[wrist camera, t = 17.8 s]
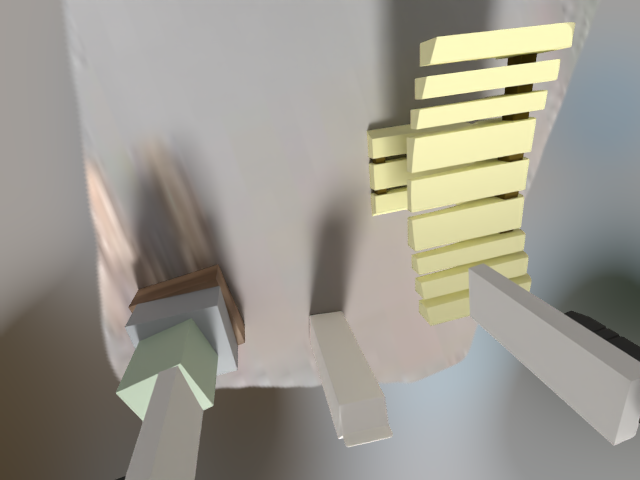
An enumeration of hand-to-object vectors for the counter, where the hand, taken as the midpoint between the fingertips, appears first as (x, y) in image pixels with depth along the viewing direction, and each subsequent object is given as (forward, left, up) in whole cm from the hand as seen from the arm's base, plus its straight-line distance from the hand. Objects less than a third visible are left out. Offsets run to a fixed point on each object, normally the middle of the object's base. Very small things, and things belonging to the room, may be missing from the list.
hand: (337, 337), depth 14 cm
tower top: (+16, -17, -30) cm, 38 cm away
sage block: (+16, -18, -25) cm, 35 cm away
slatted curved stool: (+4, +22, -35) cm, 42 cm away
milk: (+28, +2, -35) cm, 45 cm away
